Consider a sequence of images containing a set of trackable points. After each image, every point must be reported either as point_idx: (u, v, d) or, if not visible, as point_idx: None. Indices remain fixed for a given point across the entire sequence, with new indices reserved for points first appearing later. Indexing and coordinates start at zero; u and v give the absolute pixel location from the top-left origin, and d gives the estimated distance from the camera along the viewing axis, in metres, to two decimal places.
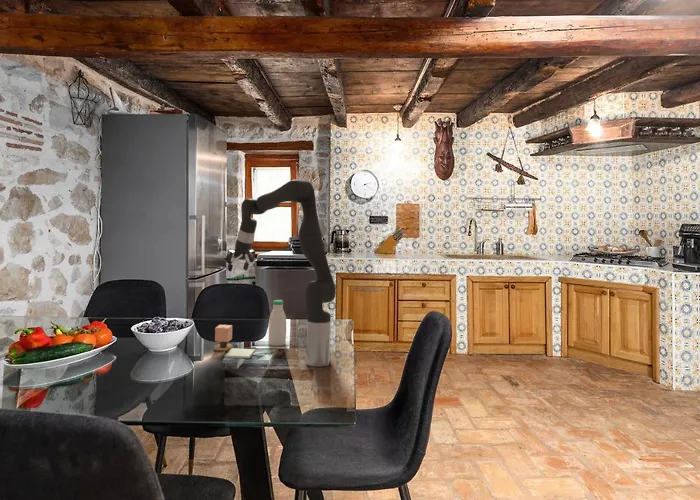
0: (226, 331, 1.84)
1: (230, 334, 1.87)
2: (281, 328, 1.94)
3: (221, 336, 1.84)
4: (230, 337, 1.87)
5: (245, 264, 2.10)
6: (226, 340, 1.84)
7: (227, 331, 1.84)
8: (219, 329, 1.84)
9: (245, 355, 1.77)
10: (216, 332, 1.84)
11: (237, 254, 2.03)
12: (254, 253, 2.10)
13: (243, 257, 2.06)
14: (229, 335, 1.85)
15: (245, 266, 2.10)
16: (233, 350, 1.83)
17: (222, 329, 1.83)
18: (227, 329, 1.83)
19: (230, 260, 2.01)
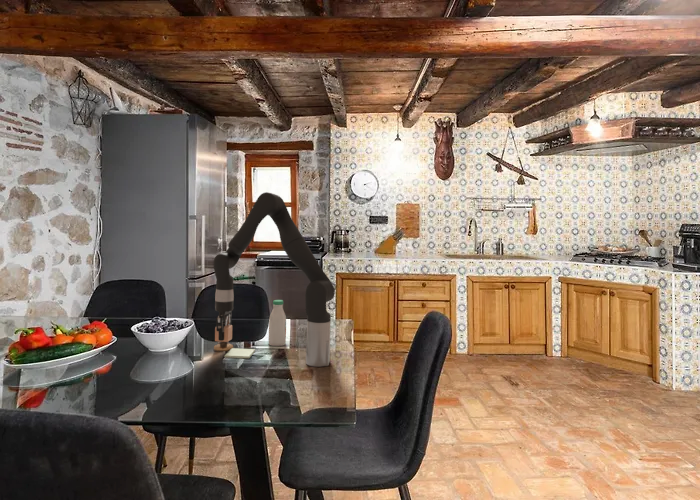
0: (226, 331, 1.84)
1: (230, 334, 1.87)
2: (281, 328, 1.94)
3: None
4: (230, 337, 1.87)
5: None
6: (226, 340, 1.84)
7: (227, 331, 1.83)
8: None
9: (245, 355, 1.77)
10: (216, 332, 1.84)
11: (224, 318, 1.83)
12: (231, 314, 1.92)
13: (226, 319, 1.86)
14: (229, 335, 1.85)
15: None
16: (233, 350, 1.83)
17: None
18: (227, 329, 1.83)
19: (222, 327, 1.81)
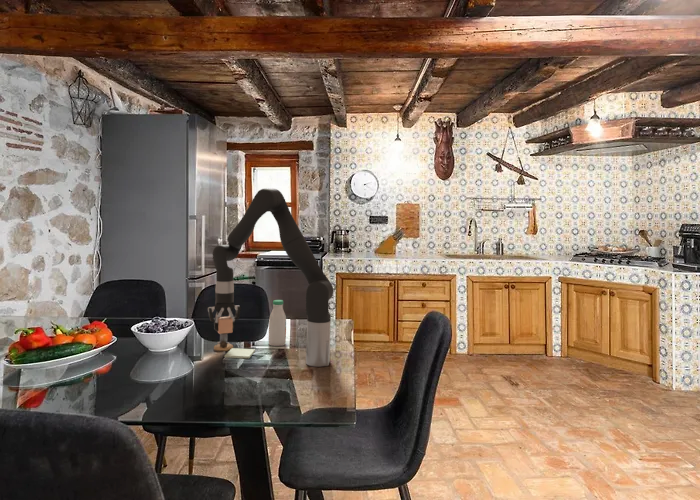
0: (219, 322, 1.83)
1: (228, 327, 1.84)
2: (281, 328, 1.94)
3: None
4: (226, 330, 1.84)
5: None
6: (218, 332, 1.83)
7: (218, 323, 1.83)
8: None
9: (245, 355, 1.77)
10: None
11: (218, 309, 1.83)
12: (239, 308, 1.88)
13: (226, 311, 1.85)
14: (223, 328, 1.83)
15: None
16: (233, 350, 1.83)
17: (218, 320, 1.84)
18: (219, 321, 1.82)
19: (212, 317, 1.83)
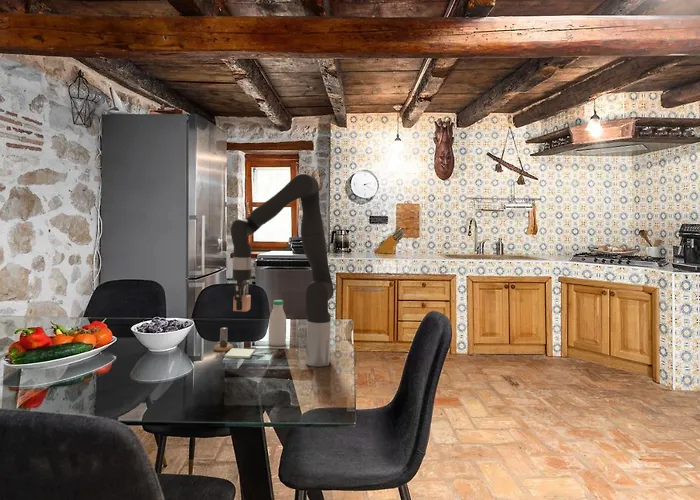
0: (245, 300, 1.76)
1: (249, 304, 1.80)
2: (281, 328, 1.94)
3: None
4: (248, 307, 1.80)
5: None
6: (245, 310, 1.76)
7: (245, 301, 1.76)
8: None
9: (245, 355, 1.77)
10: (235, 302, 1.76)
11: (242, 287, 1.76)
12: (248, 284, 1.85)
13: (244, 289, 1.79)
14: (248, 305, 1.78)
15: None
16: (233, 350, 1.83)
17: None
18: (246, 298, 1.76)
19: (241, 296, 1.74)
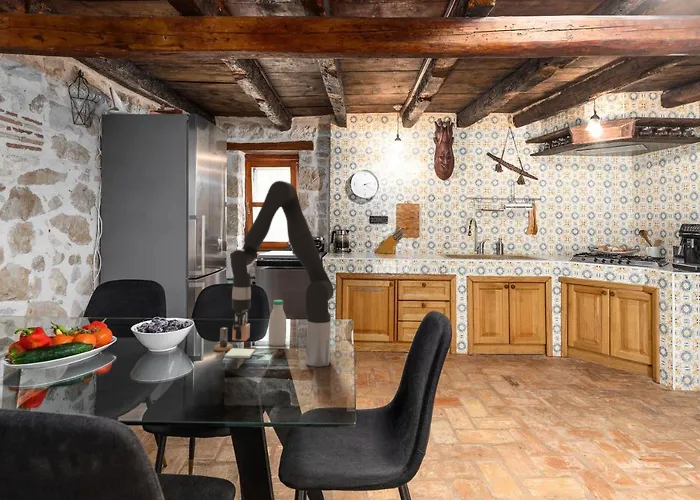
0: (244, 329, 1.77)
1: (248, 332, 1.81)
2: (281, 328, 1.94)
3: None
4: (247, 336, 1.80)
5: None
6: (244, 339, 1.77)
7: (244, 330, 1.77)
8: None
9: (245, 355, 1.77)
10: (234, 331, 1.77)
11: (241, 317, 1.77)
12: None
13: (243, 318, 1.80)
14: (247, 334, 1.79)
15: None
16: (233, 350, 1.83)
17: None
18: (245, 328, 1.77)
19: (240, 325, 1.75)
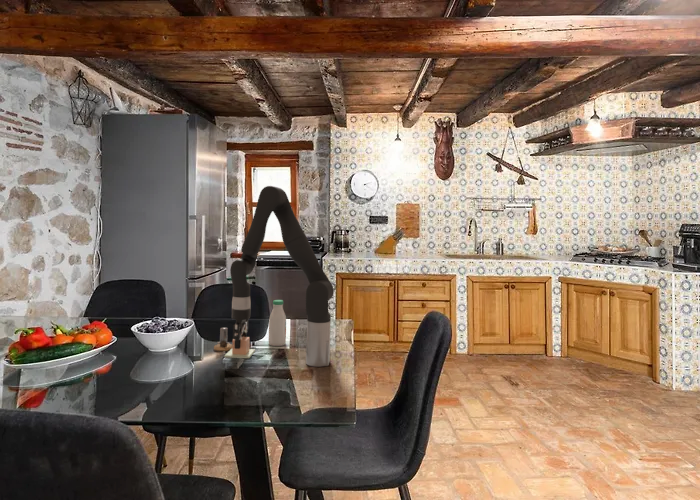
0: (244, 343, 1.77)
1: (248, 346, 1.81)
2: (281, 328, 1.94)
3: None
4: (247, 349, 1.81)
5: (243, 336, 1.84)
6: (244, 353, 1.78)
7: (244, 344, 1.77)
8: None
9: (245, 355, 1.77)
10: (234, 345, 1.78)
11: (241, 326, 1.77)
12: None
13: (244, 327, 1.81)
14: (247, 347, 1.79)
15: None
16: None
17: None
18: (245, 341, 1.77)
19: (239, 335, 1.74)
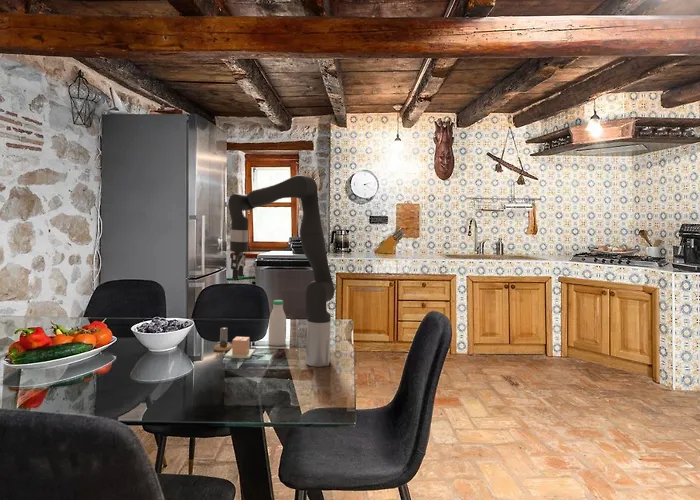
0: (244, 343, 1.77)
1: (248, 346, 1.81)
2: (281, 328, 1.94)
3: (238, 348, 1.78)
4: (247, 349, 1.81)
5: (240, 270, 1.92)
6: (244, 353, 1.78)
7: (244, 344, 1.77)
8: (236, 341, 1.77)
9: (245, 355, 1.77)
10: (234, 345, 1.78)
11: (239, 257, 1.85)
12: None
13: (241, 260, 1.89)
14: (247, 347, 1.79)
15: (241, 272, 1.92)
16: None
17: (240, 341, 1.77)
18: (245, 341, 1.77)
19: (237, 265, 1.82)
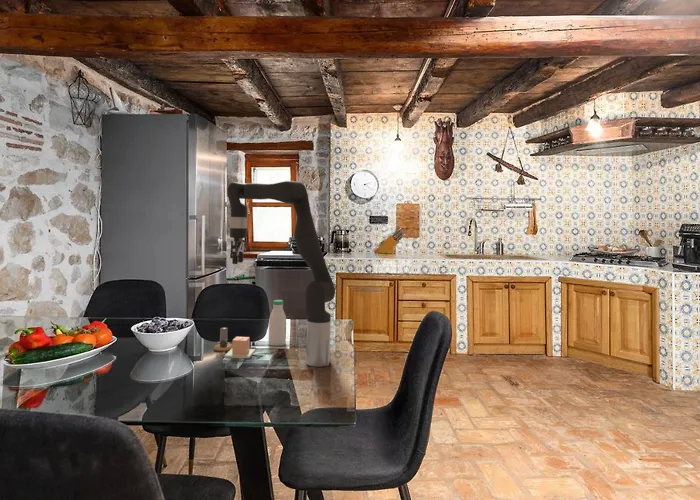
0: (244, 343, 1.77)
1: (248, 346, 1.81)
2: (281, 328, 1.94)
3: (238, 348, 1.78)
4: (247, 349, 1.81)
5: (240, 256, 2.00)
6: (244, 353, 1.78)
7: (244, 344, 1.77)
8: (236, 341, 1.77)
9: (245, 355, 1.77)
10: (234, 345, 1.78)
11: (238, 243, 1.93)
12: (244, 242, 2.02)
13: (241, 247, 1.97)
14: (247, 347, 1.79)
15: (241, 258, 2.00)
16: None
17: (240, 341, 1.77)
18: (245, 341, 1.77)
19: (236, 250, 1.90)
